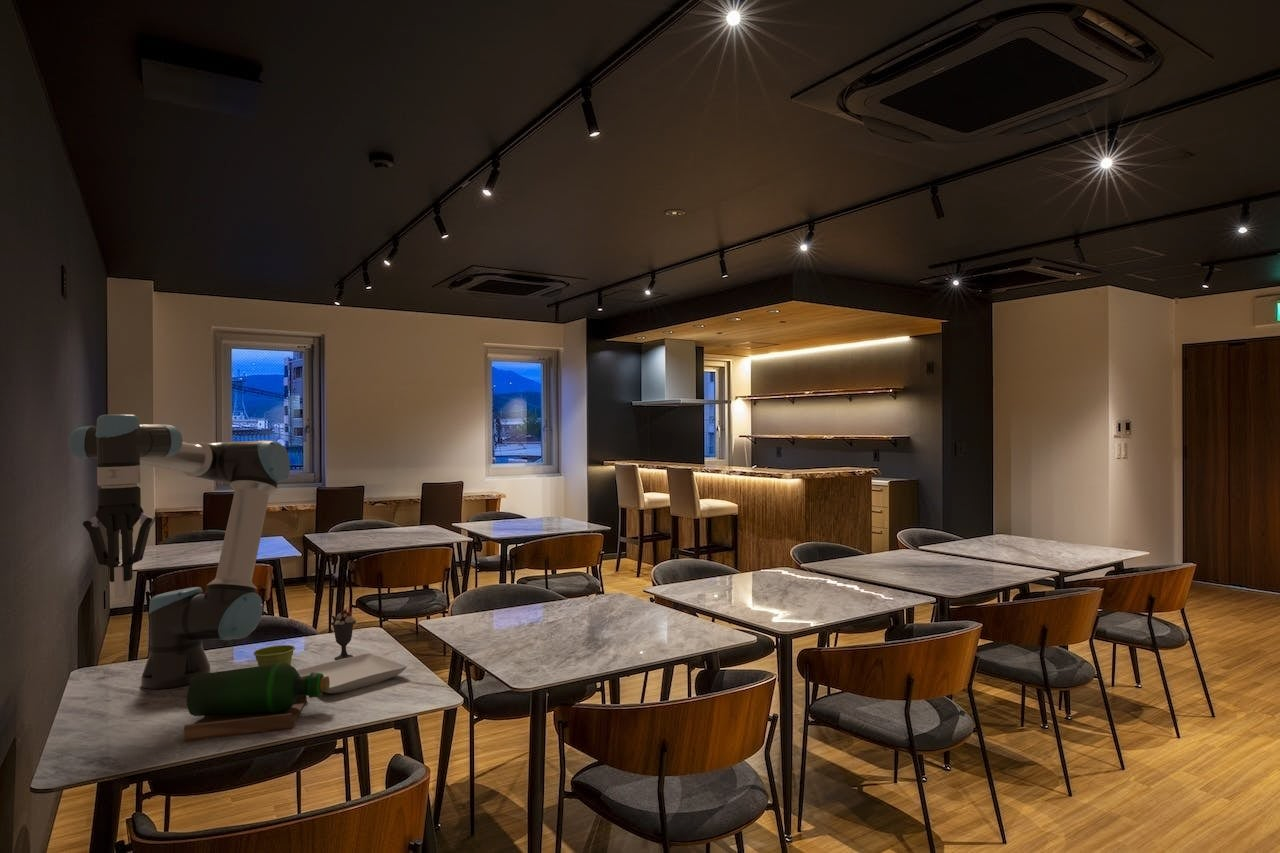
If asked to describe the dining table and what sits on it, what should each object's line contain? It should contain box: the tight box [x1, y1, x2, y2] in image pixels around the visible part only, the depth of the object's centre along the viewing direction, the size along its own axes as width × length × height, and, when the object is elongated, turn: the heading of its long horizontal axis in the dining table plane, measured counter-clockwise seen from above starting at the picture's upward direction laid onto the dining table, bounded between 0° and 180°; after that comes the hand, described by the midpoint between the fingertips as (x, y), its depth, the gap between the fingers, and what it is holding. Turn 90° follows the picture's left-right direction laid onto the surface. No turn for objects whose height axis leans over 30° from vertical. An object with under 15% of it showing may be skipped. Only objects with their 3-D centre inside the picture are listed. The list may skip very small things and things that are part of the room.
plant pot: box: [253, 644, 296, 667], centre depth 183 cm, size 9×9×9 cm
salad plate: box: [296, 652, 407, 694], centre depth 185 cm, size 21×21×3 cm
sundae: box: [329, 603, 357, 661], centre depth 205 cm, size 7×7×15 cm
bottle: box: [185, 663, 330, 717], centre depth 162 cm, size 11×11×28 cm
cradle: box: [183, 696, 307, 742], centre depth 159 cm, size 18×20×3 cm
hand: (121, 596), depth 155 cm, fingers closed
